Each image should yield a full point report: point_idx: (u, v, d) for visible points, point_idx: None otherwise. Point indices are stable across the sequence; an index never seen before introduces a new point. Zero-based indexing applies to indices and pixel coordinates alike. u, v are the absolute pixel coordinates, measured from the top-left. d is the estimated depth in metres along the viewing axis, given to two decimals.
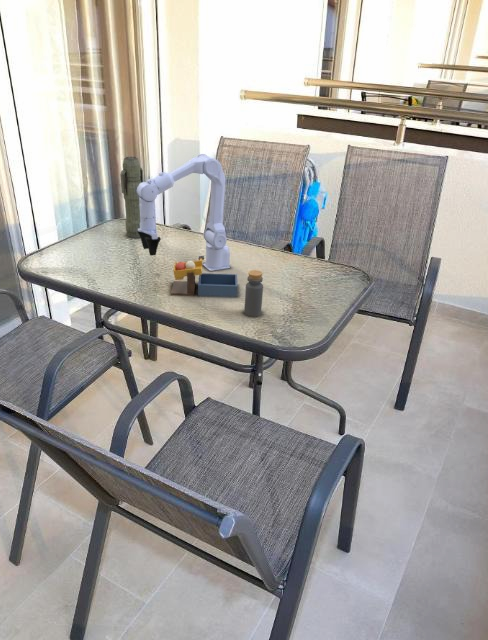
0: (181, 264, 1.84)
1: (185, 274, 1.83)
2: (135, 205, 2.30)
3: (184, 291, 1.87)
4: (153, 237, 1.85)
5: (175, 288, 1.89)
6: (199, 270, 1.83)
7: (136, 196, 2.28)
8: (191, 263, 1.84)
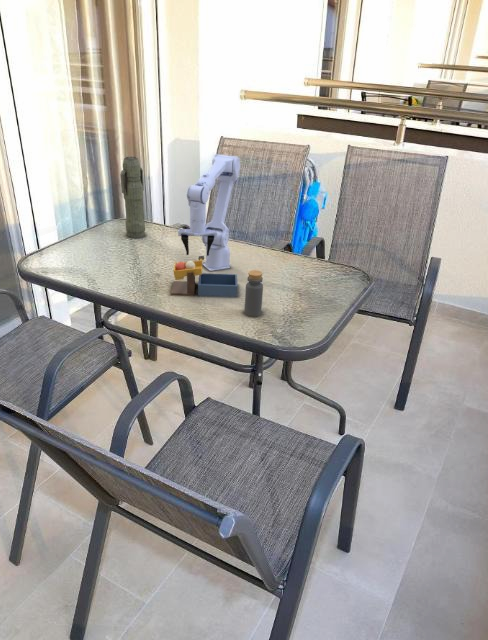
0: (181, 264, 1.84)
1: (185, 274, 1.83)
2: (135, 205, 2.30)
3: (184, 291, 1.87)
4: (217, 235, 1.89)
5: (175, 288, 1.89)
6: (199, 270, 1.83)
7: (136, 196, 2.28)
8: (191, 263, 1.84)
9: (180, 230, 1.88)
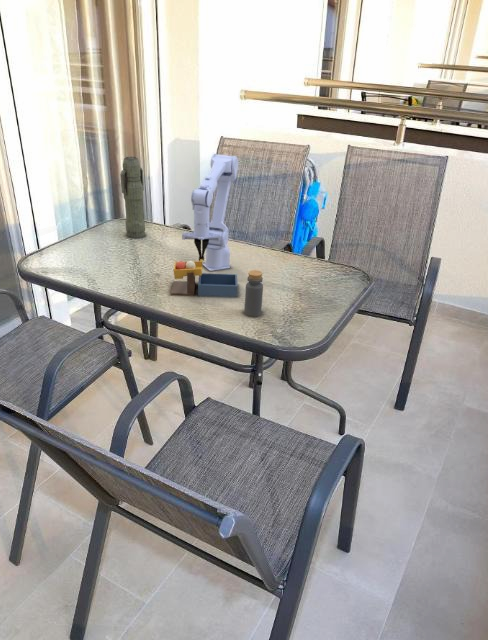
0: (181, 263, 1.84)
1: (185, 274, 1.83)
2: (135, 205, 2.30)
3: (184, 291, 1.87)
4: (220, 238, 1.90)
5: (175, 288, 1.89)
6: (199, 271, 1.83)
7: (136, 196, 2.28)
8: (192, 263, 1.84)
9: (184, 234, 1.89)
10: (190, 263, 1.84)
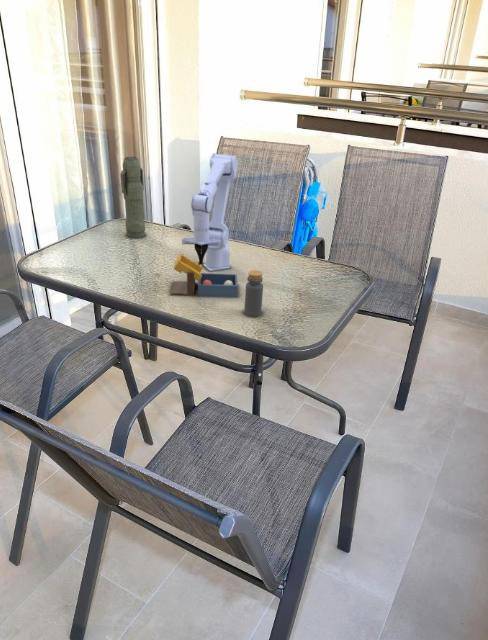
0: None
1: (185, 271, 1.83)
2: (135, 205, 2.30)
3: (184, 291, 1.87)
4: (220, 244, 1.91)
5: (175, 288, 1.89)
6: (199, 276, 1.84)
7: (136, 196, 2.28)
8: None
9: (184, 239, 1.90)
10: None
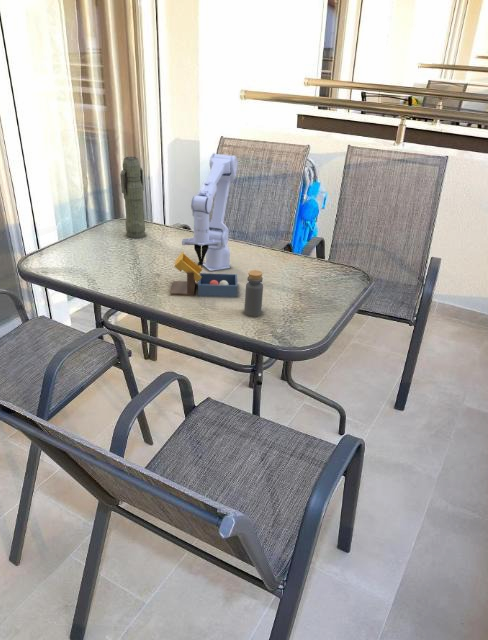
0: None
1: (186, 270, 1.82)
2: (135, 205, 2.30)
3: (184, 291, 1.87)
4: (220, 244, 1.91)
5: (175, 288, 1.89)
6: (199, 277, 1.84)
7: (136, 196, 2.28)
8: None
9: (184, 240, 1.90)
10: (227, 284, 1.89)
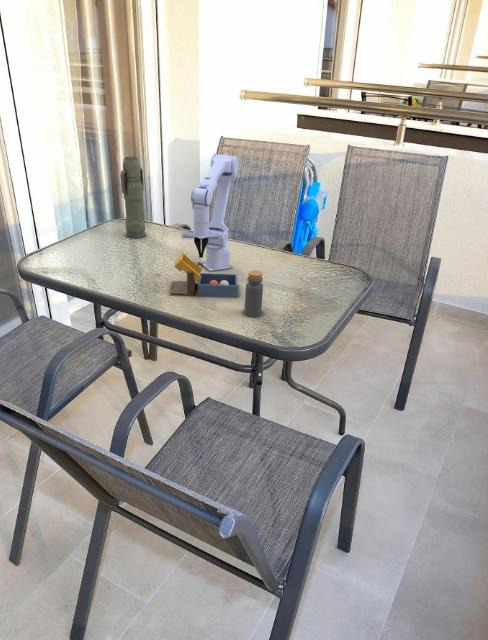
0: None
1: (186, 270, 1.82)
2: (135, 205, 2.30)
3: (184, 291, 1.87)
4: (220, 237, 1.89)
5: (175, 288, 1.89)
6: (199, 277, 1.84)
7: (136, 196, 2.28)
8: None
9: (184, 233, 1.89)
10: None
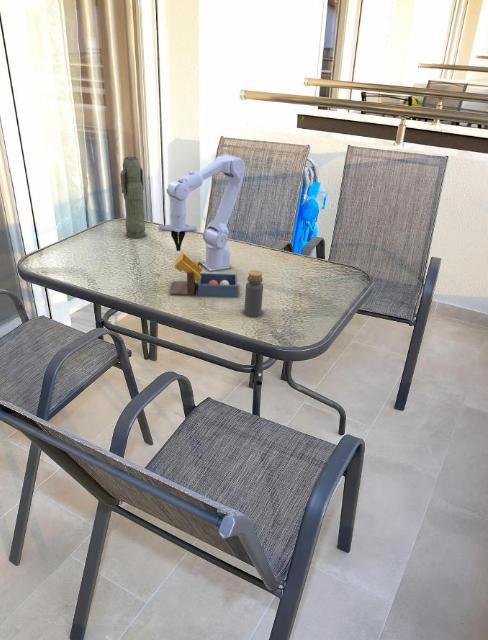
0: None
1: (186, 270, 1.82)
2: (135, 205, 2.30)
3: (184, 291, 1.87)
4: None
5: (175, 288, 1.89)
6: (199, 277, 1.84)
7: (136, 196, 2.28)
8: None
9: (161, 226, 1.91)
10: None
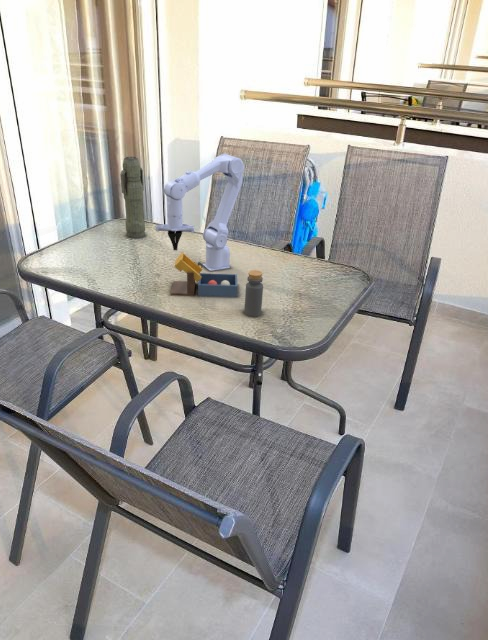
0: None
1: (186, 270, 1.82)
2: (135, 205, 2.30)
3: (184, 291, 1.87)
4: (193, 230, 1.92)
5: (175, 288, 1.89)
6: (199, 277, 1.84)
7: (136, 196, 2.28)
8: None
9: (157, 225, 1.92)
10: None
